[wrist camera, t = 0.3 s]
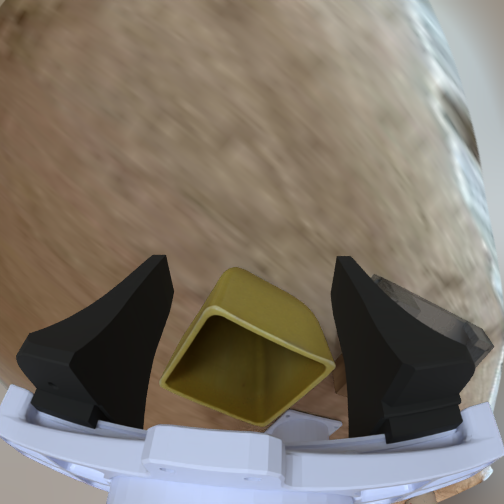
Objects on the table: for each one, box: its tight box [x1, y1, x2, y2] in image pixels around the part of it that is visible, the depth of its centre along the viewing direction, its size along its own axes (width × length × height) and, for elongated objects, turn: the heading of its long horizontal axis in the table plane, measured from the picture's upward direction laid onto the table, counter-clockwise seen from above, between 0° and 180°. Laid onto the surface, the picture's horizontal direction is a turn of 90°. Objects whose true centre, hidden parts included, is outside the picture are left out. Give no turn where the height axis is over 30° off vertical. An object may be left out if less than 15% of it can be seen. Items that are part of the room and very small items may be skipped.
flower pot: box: [159, 267, 336, 427], centre depth 22 cm, size 9×9×9 cm
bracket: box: [341, 274, 494, 368], centre depth 25 cm, size 7×16×4 cm, turn 66°
